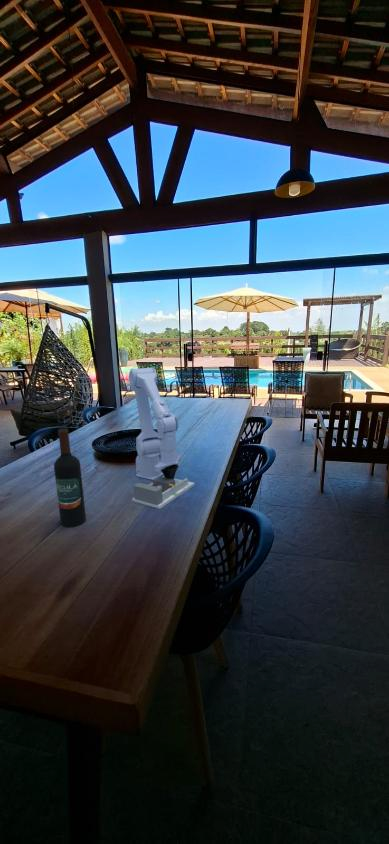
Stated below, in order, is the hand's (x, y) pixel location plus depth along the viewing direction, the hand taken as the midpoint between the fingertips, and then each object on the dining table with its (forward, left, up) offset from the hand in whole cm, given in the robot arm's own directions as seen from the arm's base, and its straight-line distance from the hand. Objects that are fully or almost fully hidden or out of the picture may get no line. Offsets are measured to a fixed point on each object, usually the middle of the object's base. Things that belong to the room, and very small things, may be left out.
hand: (169, 483), depth 136 cm
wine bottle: (-13, -34, -3) cm, 37 cm away
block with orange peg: (+1, -5, -1) cm, 5 cm away
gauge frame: (0, -3, -2) cm, 4 cm away
